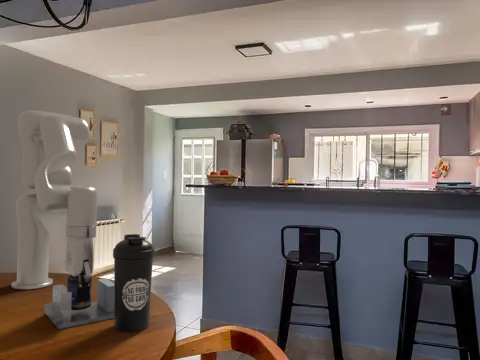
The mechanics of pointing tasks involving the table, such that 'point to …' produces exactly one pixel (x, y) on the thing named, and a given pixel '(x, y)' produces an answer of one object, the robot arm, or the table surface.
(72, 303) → the pill bottle
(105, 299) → the sliding jaw
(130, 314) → the water bottle
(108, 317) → the vise base
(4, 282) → the table surface
